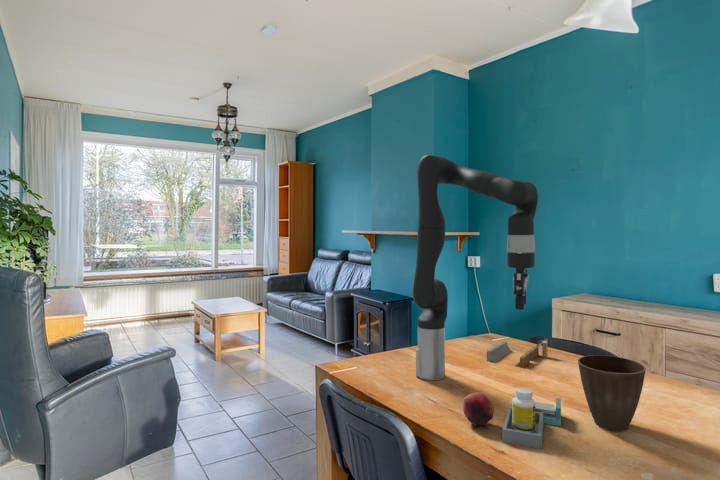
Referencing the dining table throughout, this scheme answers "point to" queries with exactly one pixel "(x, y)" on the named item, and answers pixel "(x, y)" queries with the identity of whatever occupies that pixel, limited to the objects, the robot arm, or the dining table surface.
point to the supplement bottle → (523, 410)
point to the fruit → (478, 408)
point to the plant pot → (611, 389)
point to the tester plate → (544, 408)
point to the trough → (521, 436)
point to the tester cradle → (556, 417)
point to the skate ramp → (503, 350)
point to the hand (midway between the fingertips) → (520, 306)
